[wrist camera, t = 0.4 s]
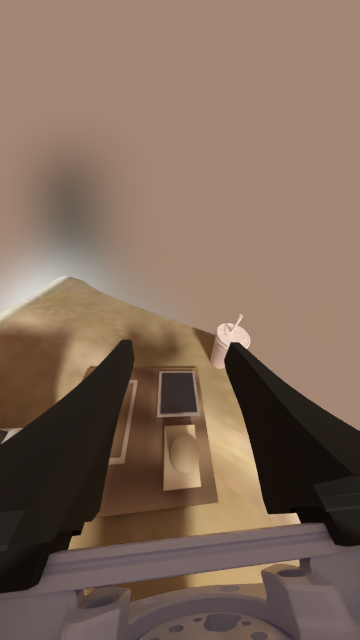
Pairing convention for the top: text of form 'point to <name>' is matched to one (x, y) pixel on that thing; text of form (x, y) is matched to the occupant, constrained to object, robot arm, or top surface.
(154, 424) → the board
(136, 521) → the top surface
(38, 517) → the robot arm
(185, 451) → the stamp
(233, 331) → the smoothie
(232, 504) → the top surface
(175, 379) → the ink pad
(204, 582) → the top surface
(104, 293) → the top surface
